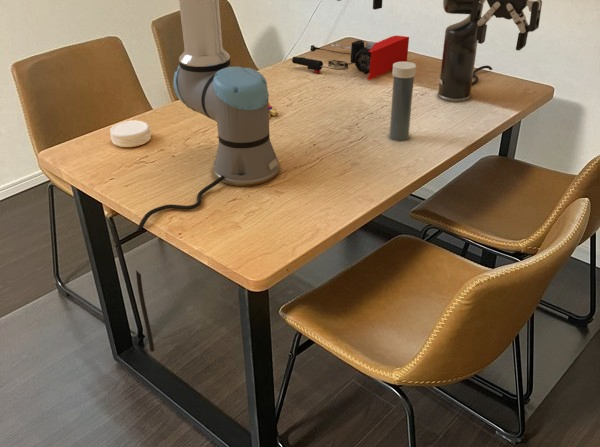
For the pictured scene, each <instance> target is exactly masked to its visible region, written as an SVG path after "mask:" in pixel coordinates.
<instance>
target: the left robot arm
mask: <svg viewBox="0 0 600 447" xmlns="http://www.w3.org/2000/svg"><path fill="white" fill-rule="evenodd" d="M336 1H337V2H340V1H341V0H336ZM178 3H179V12H180V20H181V30H182V31H181V32H182V38H183V47H184V51H183V52H182V53H181V54H180V56H179V57H178V62H179V63H178V64H179V65H178V66H177V69H176V70H175V72H174V73H173V74H174V75H173V90H174V92H175V95H176V97H177V98H178V100H179V101H180V102H181V103H182V104H183V105H185V106H186V107H187V108H188V109H190V110H191V111H193V112H196V113H199V114H200V115H202V116H204V117H206V118H209V119H210V120H212V121H215V122H216V126H217V135H218V145H217V149H216V153H215V159H214V162H213V167H212V168H213V176H214V177H215V180H214V181H212V182H211V183H209V184H208V185H206V186H205V187H204V188H201V189H200V191H199V192H198V193H197V196H196V202H195V203H194V204H189V205H183V204H163V205H161V206H158V207H154V208H152V209H151V210H148V211H147V212H146V213H145V214H144V215H143V217H142V219H141V220H140V222H139V224H138V226H137V228H136V232H140V231H142V230H143V228H144V225H145V224H146V222H147V221H148V220H149V218H150V217H151V216H153V215H154V214H155V213H158V212H161V211H165V210H169V209H170V210H172V209H173V210H183V211H187V210H194V209H197V208H199V207H200V206H201V204H202V196H203V195H204V194H205V193H206V192H207V191H209V190H210V189H212V188H213V187H215V186H216V185H218V184H220V183H223V184H225V185H228V186H229V185H230V186H234V187H251V186H252V187H253V186H257V185H261V184H265V183H267V182H269V181H271V180H273V179H274V178H275V177H276V176H277V175H278V174H279V171H280V166H279V164H280V163H279V160H278V156H277V154H276V151H275V149H274V146H273V144H272V142H271V138H270V136H271V135H270V134H271V133H270V118H269V104H268V102H269V98H270V94H269V89H268V83H267V79H266V77H265V76H264V75H263V74H262V73H261V72H260V71H258V70H256V69H253V68H250V67H242V66H231V55H230V54H229V53H228V52H227V51H226V50H225V49H224V48H223V37H222V26H221V14H220V13H221V11H220V0H178ZM382 8H383V0H372V10H374V11H375V10H380V9H382ZM135 275H136V284H137V291H138V297H139V302H140V308H141V312H142V317H143V321H144V325H145V330H146V335H147V341H148V344H149V351H150V352H151V353H152V352H153V353H154V352H155V345H154V339H153V334H152V329H151V324H150V320H149V315H148V311H147V306H146V301H145V297H144V296H145V295H144V290H143V282H142V274H141V273H140V272H139V271H138V270H135Z"/></svg>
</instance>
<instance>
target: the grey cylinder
mask: <svg viewBox="0 0 600 447" xmlns="http://www.w3.org/2000/svg"><path fill="white" fill-rule="evenodd" d="M392 78H393V79H392V93H391V107H390V120H389V121H390V122H389V124H390V125H389V138H390V139H392V140H393V141H406V140H408V139H409V138H410V137H409V136H410V126H411V115H412V114H411V113H412V103H413V101H412V100H413V92H414V82H415V81H414V80H415V76H414V77H412V78H398V77H395V76H392Z"/></svg>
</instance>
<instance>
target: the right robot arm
mask: <svg viewBox="0 0 600 447" xmlns="http://www.w3.org/2000/svg"><path fill="white" fill-rule="evenodd" d="M486 2H487V4H488V7H489V9H488V10H487V11H486V12H485V13H484V14H483V9H484V5H485V4H486ZM542 7H543V1H542V0H442V8H443V10H444V12H445V13H446V14H450V15H468V16H467V17H466V18H464V19H463V20H461V21H459V22H456V23H453V24H450V25H448V26H447V27H446V28H445V30H444V39H443V48H442V58H441V67H440V75H439V76H440V77H438V78H437V82H439V84H438V91H437V96H438V98H439V99H441V100H444V101H447V102H455V103H456V102H457V103H460V102H466V101H468V100H470V99H471V95H472V94H471V92H472V86H473V85H475V84H477V83H478V82H479V76H477V75H476V73H477V72H479V71H481V70H484V69H488V70H489V71H493V67H492V66H490V65H482V66H479V67H477V68H475V63H476V56H477V49H478V44H480V45H481V44H484V43H485V41H486V35H487V29H488V24H487V23H488V22H489V21H490V20H491V19H492V18H493V17H495V18H496V19H502V18H503V19H505V20H508V21H509V20H512V21H513V23H514V24H515V25H516V27H517V28H518V30H519V32H518V33H517V34H518V35H517V40H516V46H515V50H516V51H518V52H519V51H521V50H522V49H524V48H525V47H526V46H527V40H528V36H529V35H528V34H529V33H530V32H531V33H532V32H534V31H537V30H538V29H539V28H540V19H541V13H542ZM526 8H528V11H529V12H530V18H529V23H528V21H527V17H526V14H525V12H524V9H526ZM482 15H483V16H482ZM473 78H474V80H473Z"/></svg>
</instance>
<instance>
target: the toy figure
mask: <svg viewBox="0 0 600 447" xmlns="http://www.w3.org/2000/svg"><path fill="white" fill-rule="evenodd" d="M268 104H269V119H270V118H271V116H273V117H276V116H277V115H278V111H276V110H275V109H273V106H272V105H271V102H270V101H268Z"/></svg>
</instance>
